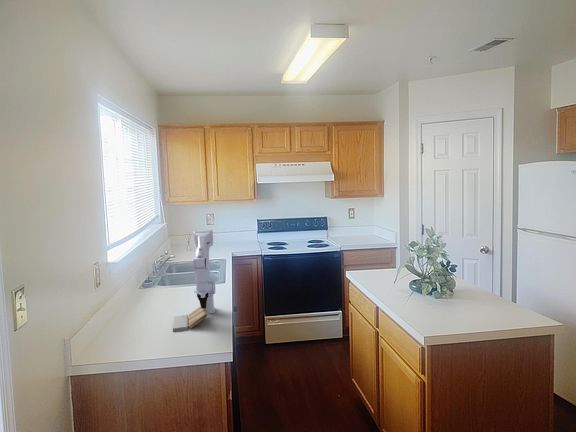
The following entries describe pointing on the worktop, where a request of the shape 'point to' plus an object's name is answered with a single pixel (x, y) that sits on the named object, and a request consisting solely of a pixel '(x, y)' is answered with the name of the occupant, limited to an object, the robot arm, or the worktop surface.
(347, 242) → the worktop surface
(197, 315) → the tan flat block
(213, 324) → the worktop surface
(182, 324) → the floor board
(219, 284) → the worktop surface
